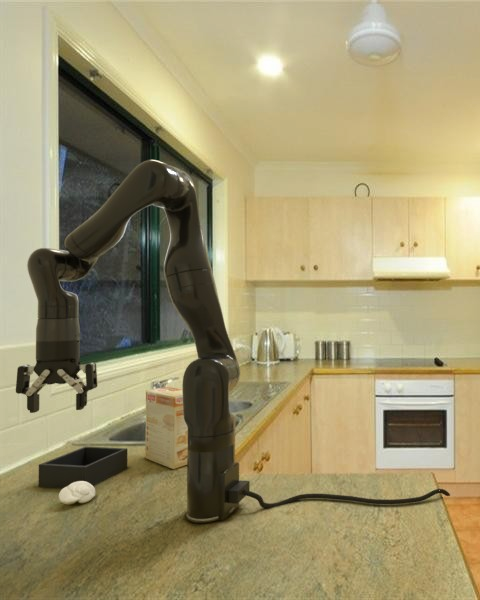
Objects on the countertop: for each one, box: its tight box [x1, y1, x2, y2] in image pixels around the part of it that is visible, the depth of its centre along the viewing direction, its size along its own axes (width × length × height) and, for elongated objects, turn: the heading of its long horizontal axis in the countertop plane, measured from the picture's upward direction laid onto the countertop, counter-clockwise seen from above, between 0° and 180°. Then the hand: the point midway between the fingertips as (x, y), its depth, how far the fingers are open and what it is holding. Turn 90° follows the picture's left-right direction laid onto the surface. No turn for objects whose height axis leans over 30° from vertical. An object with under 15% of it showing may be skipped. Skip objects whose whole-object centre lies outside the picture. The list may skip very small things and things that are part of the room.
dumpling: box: [56, 481, 96, 506], centre depth 89 cm, size 7×5×4 cm
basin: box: [38, 446, 128, 489], centre depth 102 cm, size 13×13×5 cm
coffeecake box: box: [144, 386, 188, 470], centre depth 114 cm, size 15×7×20 cm, turn 58°
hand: (57, 410), depth 90 cm, fingers open, 8 cm apart
